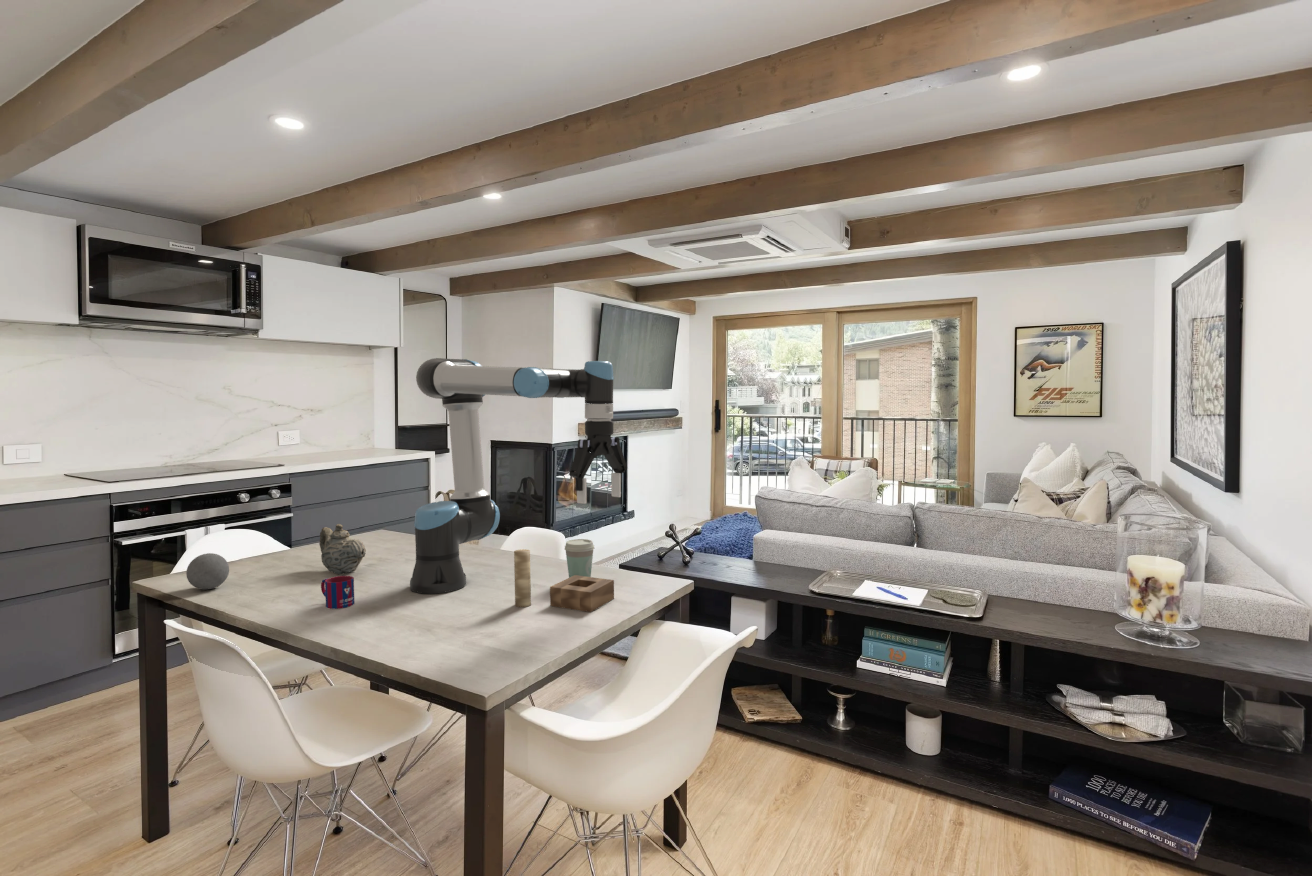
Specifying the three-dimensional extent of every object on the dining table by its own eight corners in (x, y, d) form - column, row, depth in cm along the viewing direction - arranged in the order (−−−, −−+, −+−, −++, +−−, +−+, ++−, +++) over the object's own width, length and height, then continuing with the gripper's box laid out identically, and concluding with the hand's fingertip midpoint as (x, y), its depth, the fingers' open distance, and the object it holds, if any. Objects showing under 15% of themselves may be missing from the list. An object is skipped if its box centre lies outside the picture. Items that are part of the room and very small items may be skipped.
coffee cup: (589, 588, 185) (589, 545, 184) (560, 586, 186) (560, 544, 186) (598, 579, 193) (598, 539, 192) (570, 578, 195) (570, 538, 194)
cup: (335, 610, 166) (334, 584, 166) (313, 604, 172) (312, 578, 171) (359, 603, 172) (359, 577, 172) (337, 597, 177) (336, 572, 177)
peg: (511, 606, 169) (510, 552, 168) (521, 601, 173) (520, 548, 172) (524, 608, 168) (523, 553, 167) (534, 603, 171) (533, 550, 170)
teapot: (379, 572, 203) (377, 523, 202) (344, 581, 193) (342, 530, 192) (338, 563, 214) (336, 517, 213) (303, 571, 205) (301, 523, 204)
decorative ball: (209, 583, 192) (207, 549, 192) (238, 584, 190) (237, 550, 190) (178, 593, 182) (176, 557, 182) (208, 595, 180) (206, 558, 180)
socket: (550, 605, 169) (549, 586, 169) (575, 593, 180) (575, 575, 180) (590, 612, 164) (590, 592, 164) (614, 598, 175) (613, 580, 175)
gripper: (576, 422, 162) (576, 507, 164) (639, 419, 182) (639, 495, 184) (554, 421, 167) (555, 504, 168) (619, 418, 187) (619, 492, 188)
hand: (599, 500), depth 176 cm, fingers open, 13 cm apart
